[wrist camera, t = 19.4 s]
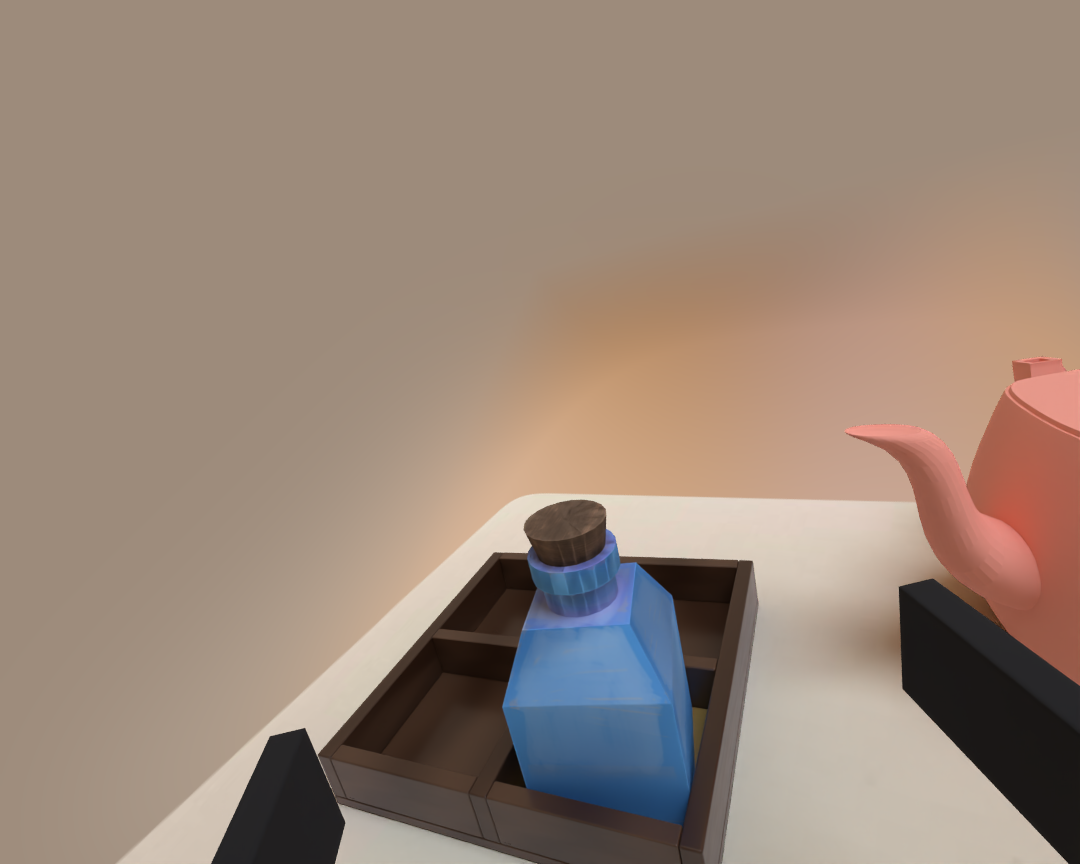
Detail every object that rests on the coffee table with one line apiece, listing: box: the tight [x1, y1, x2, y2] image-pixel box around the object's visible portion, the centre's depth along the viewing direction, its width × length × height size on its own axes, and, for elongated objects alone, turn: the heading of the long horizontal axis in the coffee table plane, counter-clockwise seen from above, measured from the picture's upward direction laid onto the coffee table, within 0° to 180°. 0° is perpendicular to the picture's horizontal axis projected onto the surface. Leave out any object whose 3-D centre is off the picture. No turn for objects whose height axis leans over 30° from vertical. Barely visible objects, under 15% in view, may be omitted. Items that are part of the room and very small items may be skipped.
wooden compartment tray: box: [318, 552, 758, 864], centre depth 31 cm, size 17×17×3 cm
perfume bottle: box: [502, 500, 695, 828], centre depth 24 cm, size 6×6×12 cm
